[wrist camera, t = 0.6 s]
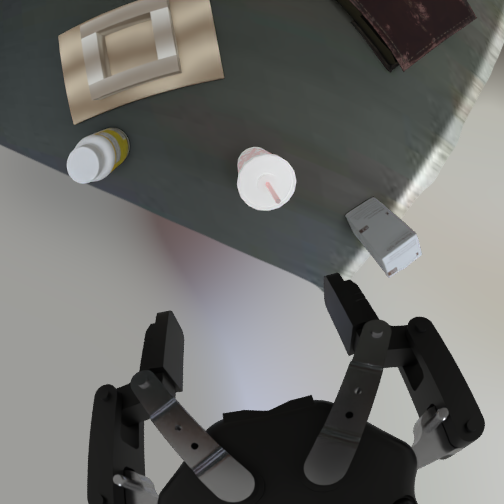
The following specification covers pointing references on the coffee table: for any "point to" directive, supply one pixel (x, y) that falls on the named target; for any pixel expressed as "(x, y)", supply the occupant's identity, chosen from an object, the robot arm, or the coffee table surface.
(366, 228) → the skincare box
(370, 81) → the coffee table surface
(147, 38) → the socket board
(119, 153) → the supplement bottle
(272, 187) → the beverage cup
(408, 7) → the diary
